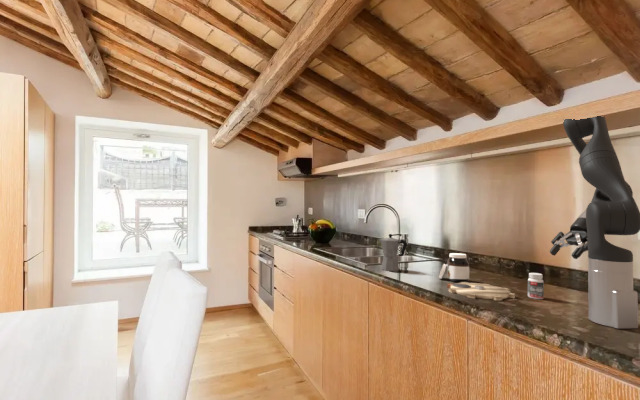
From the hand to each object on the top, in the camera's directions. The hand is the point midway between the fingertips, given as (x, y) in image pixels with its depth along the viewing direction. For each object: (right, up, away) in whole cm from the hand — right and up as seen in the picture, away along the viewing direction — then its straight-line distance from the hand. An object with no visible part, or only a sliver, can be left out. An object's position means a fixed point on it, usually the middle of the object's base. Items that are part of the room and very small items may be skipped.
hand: (562, 255), depth 117 cm
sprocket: (-28, -14, +4) cm, 32 cm away
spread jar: (-30, -15, +24) cm, 41 cm away
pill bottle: (-12, -15, -3) cm, 19 cm away
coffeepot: (-51, -15, +47) cm, 71 cm away
